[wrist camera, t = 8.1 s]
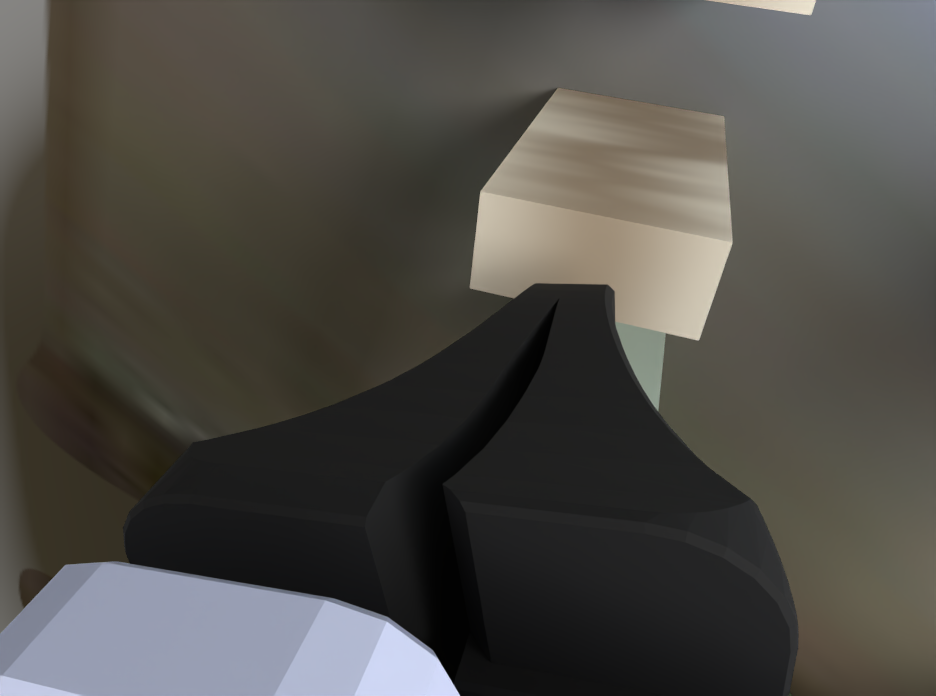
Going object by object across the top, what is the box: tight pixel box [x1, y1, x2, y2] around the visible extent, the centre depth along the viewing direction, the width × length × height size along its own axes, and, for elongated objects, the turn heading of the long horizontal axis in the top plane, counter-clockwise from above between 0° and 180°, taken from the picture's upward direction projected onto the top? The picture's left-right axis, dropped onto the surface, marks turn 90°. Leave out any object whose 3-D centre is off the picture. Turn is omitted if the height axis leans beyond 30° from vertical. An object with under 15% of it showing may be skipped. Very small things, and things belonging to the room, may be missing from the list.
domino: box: [470, 88, 733, 341], centre depth 16 cm, size 4×2×8 cm, turn 85°
